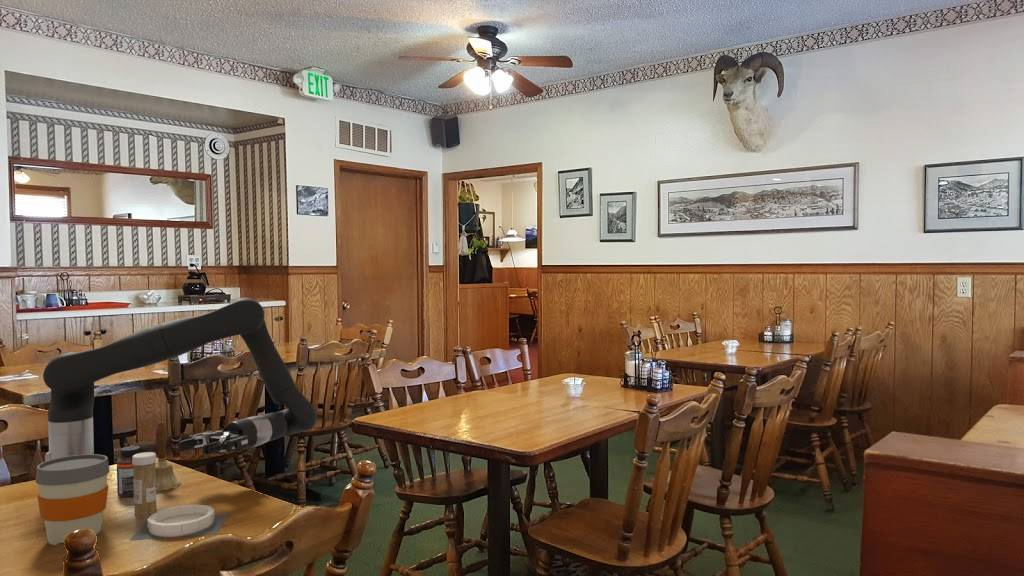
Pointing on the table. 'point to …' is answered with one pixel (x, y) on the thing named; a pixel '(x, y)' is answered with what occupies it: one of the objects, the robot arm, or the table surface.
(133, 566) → the table surface
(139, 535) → the mat
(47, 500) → the reusable coffee cup
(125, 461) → the supplement bottle
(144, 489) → the sprinkles bottle
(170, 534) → the white round tray
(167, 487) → the hand bell
